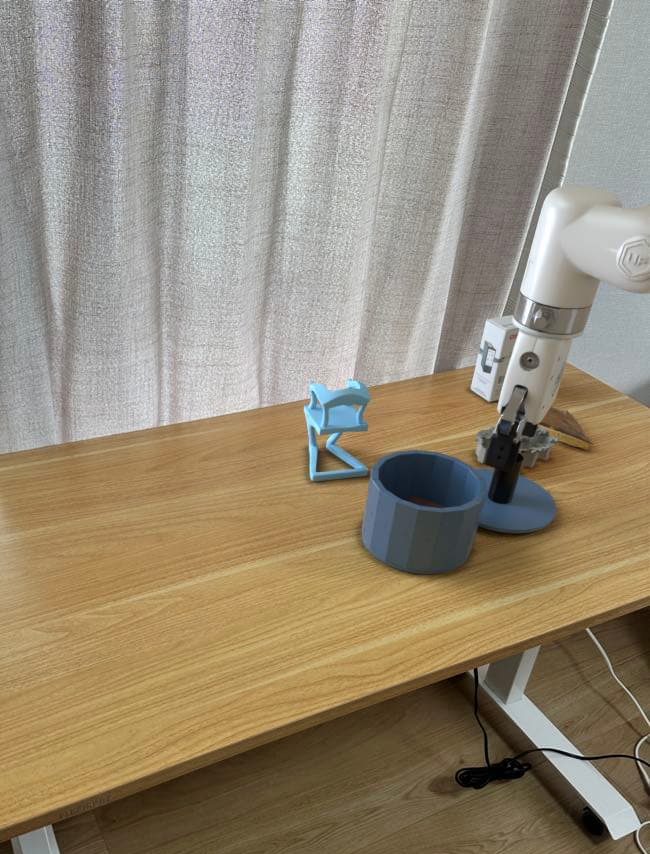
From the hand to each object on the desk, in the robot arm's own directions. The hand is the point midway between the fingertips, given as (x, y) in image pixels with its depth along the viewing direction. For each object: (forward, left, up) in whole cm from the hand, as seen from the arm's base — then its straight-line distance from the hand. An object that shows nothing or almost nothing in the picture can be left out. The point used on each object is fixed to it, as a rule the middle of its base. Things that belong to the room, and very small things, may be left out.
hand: (510, 450), depth 97 cm
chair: (+22, +3, -8) cm, 23 cm away
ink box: (+9, -32, -8) cm, 34 cm away
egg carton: (+2, -13, -8) cm, 15 cm away
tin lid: (0, 0, -7) cm, 7 cm away
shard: (-2, -25, -8) cm, 26 cm away
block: (+6, +13, -7) cm, 16 cm away
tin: (+6, +13, -8) cm, 16 cm away
